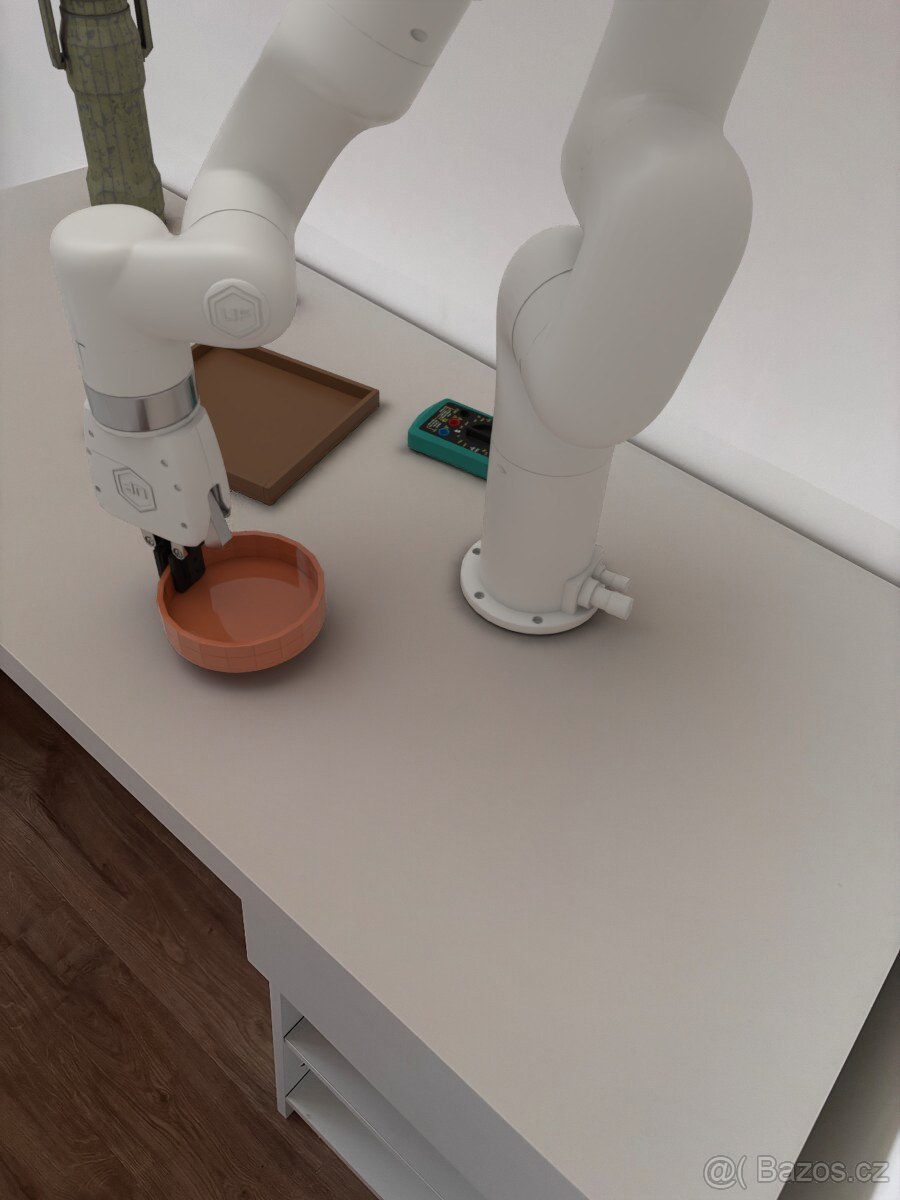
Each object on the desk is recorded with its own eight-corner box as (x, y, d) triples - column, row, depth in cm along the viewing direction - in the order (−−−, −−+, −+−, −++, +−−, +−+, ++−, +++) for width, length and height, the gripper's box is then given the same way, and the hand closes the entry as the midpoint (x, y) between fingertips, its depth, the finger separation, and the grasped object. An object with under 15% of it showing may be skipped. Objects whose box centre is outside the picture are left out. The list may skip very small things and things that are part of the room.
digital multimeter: (440, 413, 110) (441, 389, 108) (566, 464, 105) (570, 440, 103) (401, 449, 106) (401, 424, 104) (531, 503, 100) (534, 479, 98)
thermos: (191, 226, 137) (150, -89, 112) (109, 253, 131) (47, -75, 106) (154, 202, 141) (107, -107, 117) (73, 226, 135) (5, -94, 111)
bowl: (357, 592, 87) (355, 565, 85) (262, 697, 79) (258, 670, 77) (230, 538, 92) (226, 511, 89) (128, 632, 84) (121, 606, 81)
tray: (379, 406, 111) (379, 389, 109) (270, 505, 98) (268, 488, 97) (217, 345, 117) (215, 329, 116) (95, 431, 105) (91, 414, 104)
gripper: (22, 384, 74) (81, 573, 87) (194, 452, 69) (230, 642, 82) (97, 335, 79) (142, 522, 92) (263, 395, 74) (286, 584, 87)
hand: (183, 578), depth 87 cm, fingers closed on bowl, 1 cm apart
